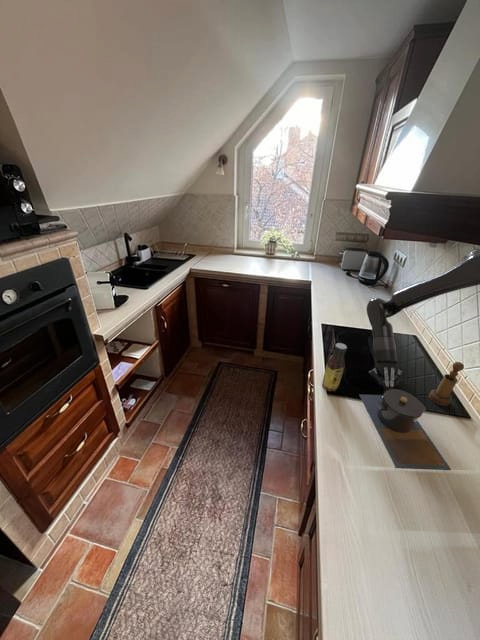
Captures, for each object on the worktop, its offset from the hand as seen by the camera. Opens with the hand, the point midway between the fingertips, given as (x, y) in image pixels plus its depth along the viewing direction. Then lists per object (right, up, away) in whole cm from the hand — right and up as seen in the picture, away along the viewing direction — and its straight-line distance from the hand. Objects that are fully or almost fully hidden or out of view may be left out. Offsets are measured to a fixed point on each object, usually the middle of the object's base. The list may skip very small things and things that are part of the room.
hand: (389, 397), depth 91 cm
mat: (0, -8, -6) cm, 10 cm away
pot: (0, -6, -3) cm, 7 cm away
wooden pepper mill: (+22, -3, +5) cm, 23 cm away
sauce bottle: (-18, +1, +10) cm, 21 cm away
